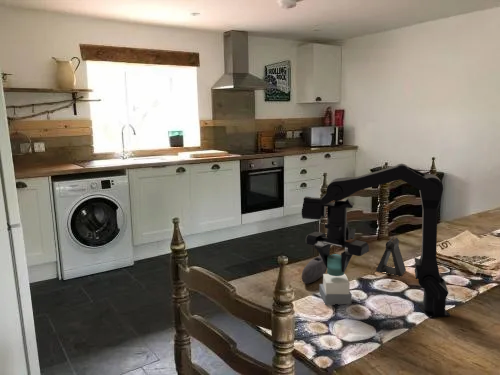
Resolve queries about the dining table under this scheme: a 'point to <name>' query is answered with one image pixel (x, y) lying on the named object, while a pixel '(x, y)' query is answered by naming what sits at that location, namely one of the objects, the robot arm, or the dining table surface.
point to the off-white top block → (336, 284)
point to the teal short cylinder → (334, 265)
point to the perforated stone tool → (313, 270)
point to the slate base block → (334, 297)
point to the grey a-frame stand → (397, 259)
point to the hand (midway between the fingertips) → (335, 269)
